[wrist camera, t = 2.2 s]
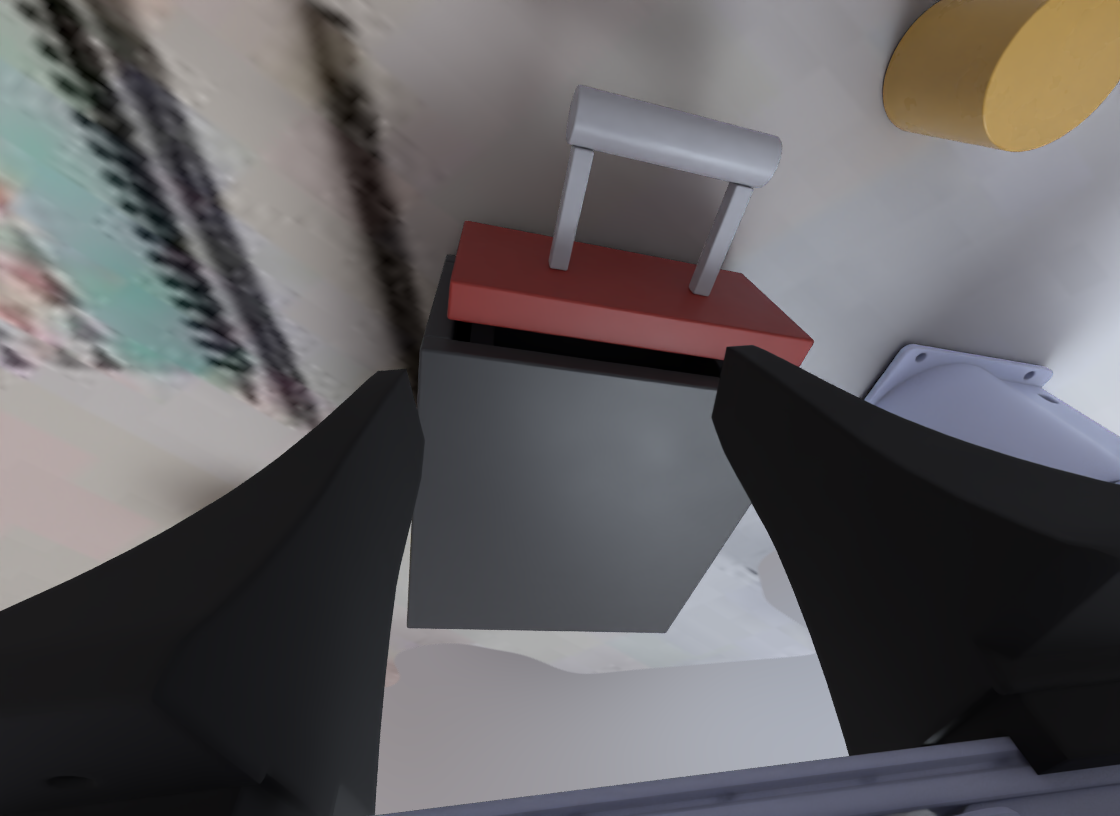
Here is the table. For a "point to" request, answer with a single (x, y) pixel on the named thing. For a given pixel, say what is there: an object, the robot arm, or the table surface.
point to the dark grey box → (561, 488)
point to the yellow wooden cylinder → (1004, 70)
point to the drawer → (628, 257)
